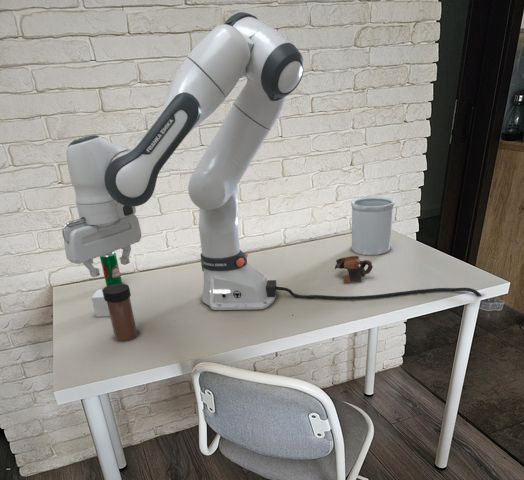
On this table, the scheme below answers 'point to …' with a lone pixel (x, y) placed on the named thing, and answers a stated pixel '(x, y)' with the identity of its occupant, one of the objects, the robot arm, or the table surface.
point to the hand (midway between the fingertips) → (110, 269)
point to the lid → (116, 292)
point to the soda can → (111, 269)
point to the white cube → (100, 304)
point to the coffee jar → (122, 320)
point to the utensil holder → (372, 224)
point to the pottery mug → (353, 268)
